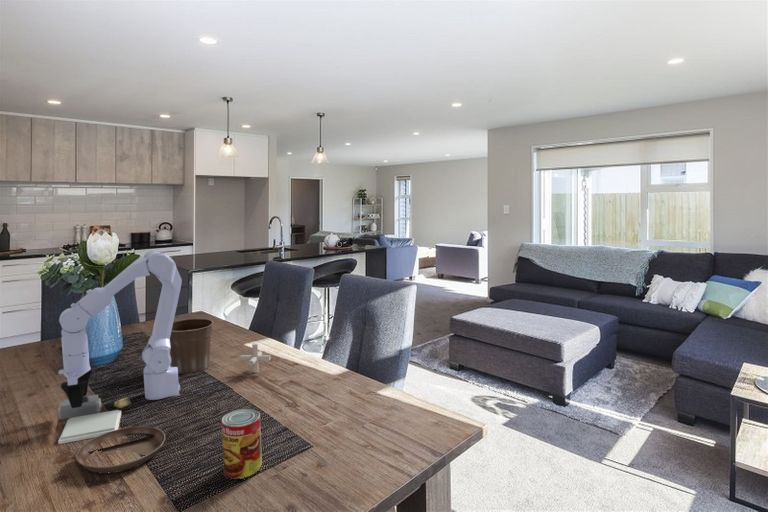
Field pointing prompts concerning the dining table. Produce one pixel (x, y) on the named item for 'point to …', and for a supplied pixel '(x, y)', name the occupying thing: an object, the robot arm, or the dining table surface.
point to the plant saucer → (123, 447)
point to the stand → (90, 426)
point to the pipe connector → (255, 358)
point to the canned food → (241, 443)
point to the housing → (80, 408)
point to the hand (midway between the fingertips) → (79, 401)
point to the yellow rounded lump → (122, 402)
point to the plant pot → (191, 345)
